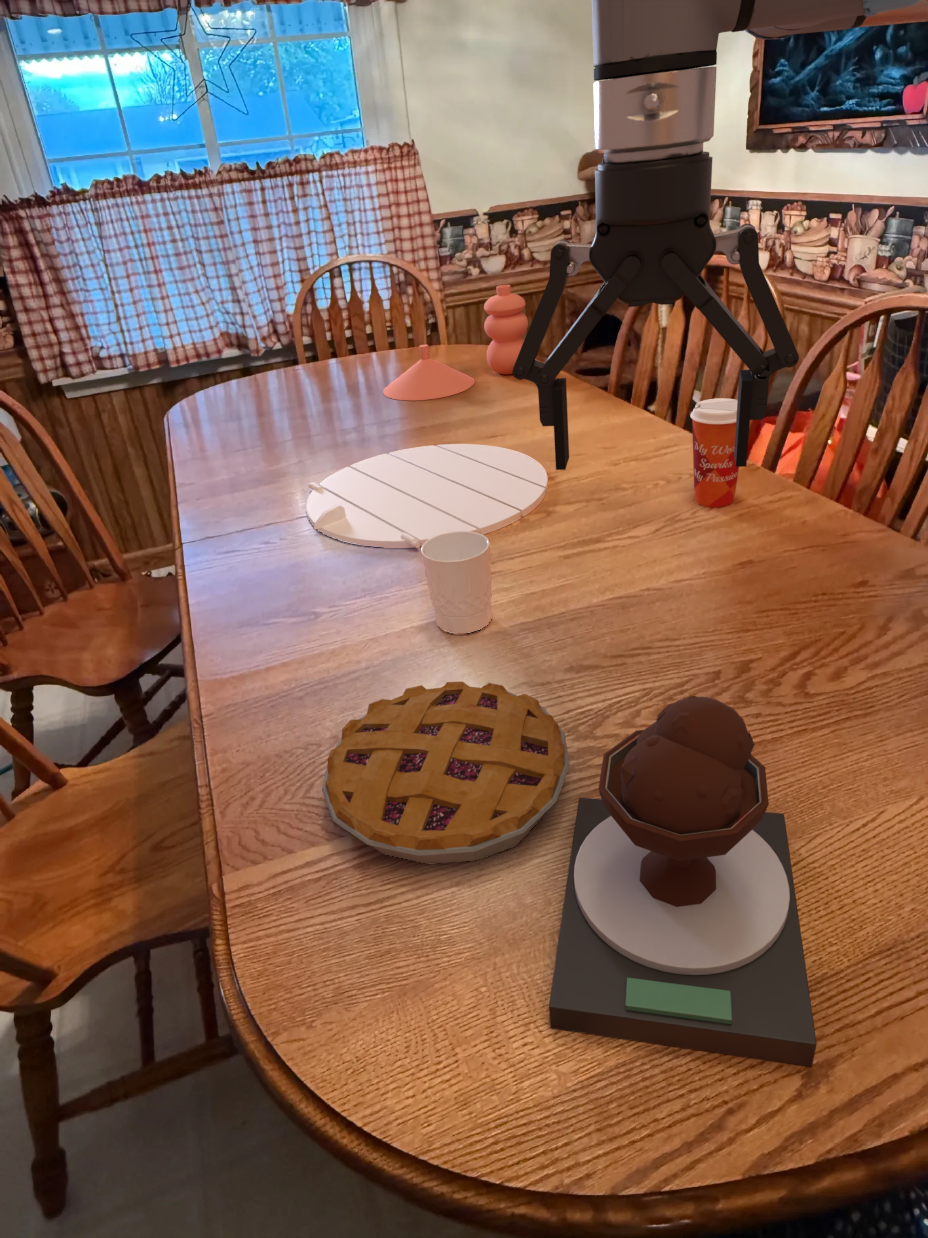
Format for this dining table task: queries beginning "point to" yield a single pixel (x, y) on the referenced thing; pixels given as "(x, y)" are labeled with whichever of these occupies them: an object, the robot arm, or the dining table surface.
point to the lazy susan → (426, 494)
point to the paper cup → (714, 452)
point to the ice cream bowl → (685, 795)
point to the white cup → (459, 580)
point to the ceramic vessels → (502, 353)
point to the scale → (683, 949)
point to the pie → (446, 772)
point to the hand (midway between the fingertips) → (649, 462)
